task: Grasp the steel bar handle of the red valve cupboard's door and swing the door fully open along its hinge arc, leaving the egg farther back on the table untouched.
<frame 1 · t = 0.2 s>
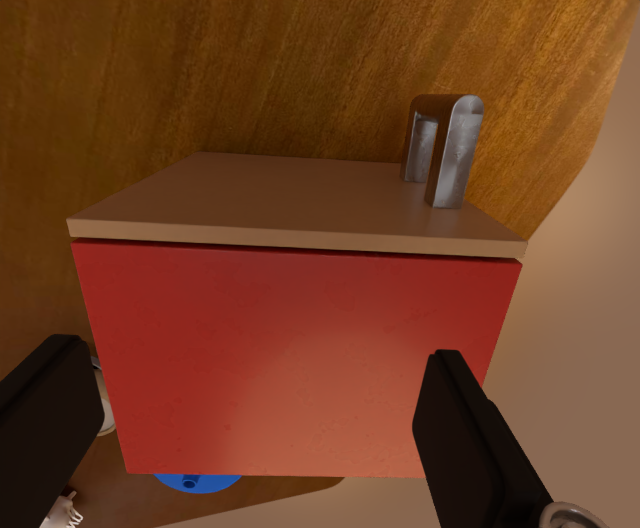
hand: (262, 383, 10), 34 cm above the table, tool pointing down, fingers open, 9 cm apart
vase: (202, 441, 59), on the table
figurine: (65, 493, 64), on the table
alarm clock: (93, 382, 53), on the table
door: (308, 142, 28), point 12 cm above the table, hinge at 0.0°
valve cupboard: (303, 242, 45), on the table
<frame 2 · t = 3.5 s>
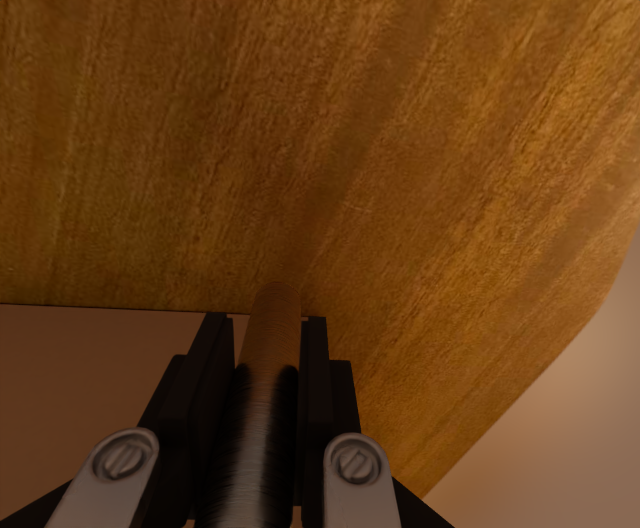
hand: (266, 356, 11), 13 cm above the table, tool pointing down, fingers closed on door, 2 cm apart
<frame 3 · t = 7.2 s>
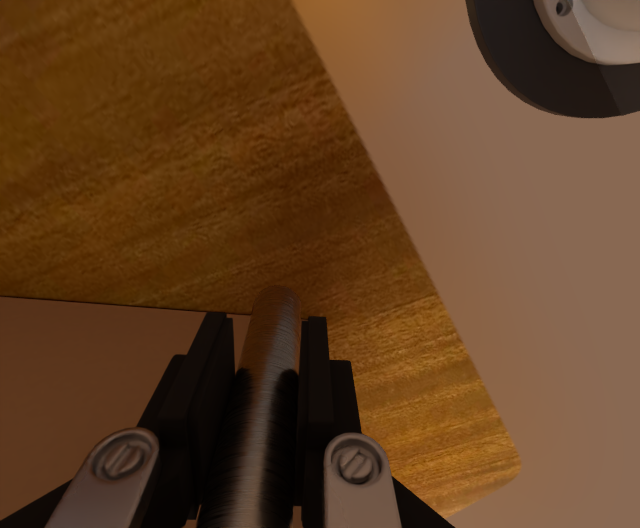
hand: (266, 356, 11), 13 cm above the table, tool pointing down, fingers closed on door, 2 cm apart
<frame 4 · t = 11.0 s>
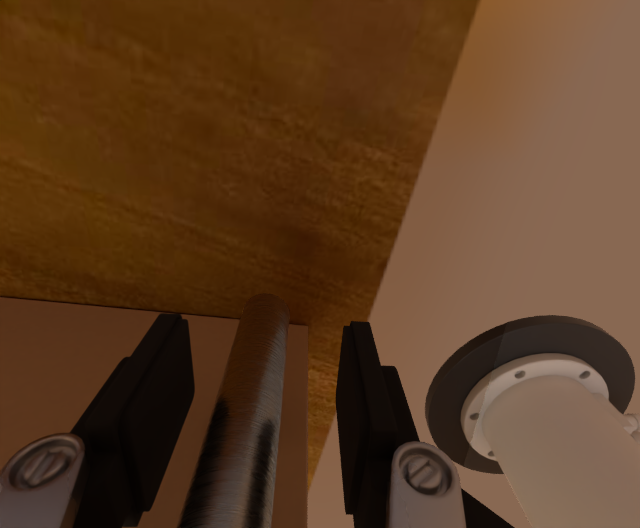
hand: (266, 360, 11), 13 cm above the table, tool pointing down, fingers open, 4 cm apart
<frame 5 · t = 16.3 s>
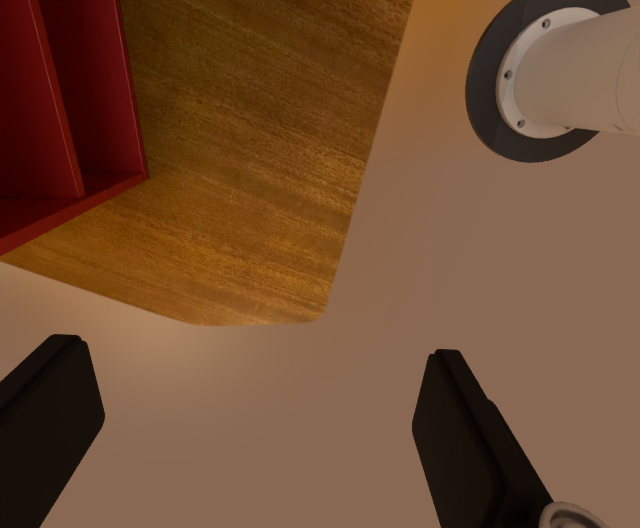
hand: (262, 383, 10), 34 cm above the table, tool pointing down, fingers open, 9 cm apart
valve cupboard: (37, 55, 36), on the table
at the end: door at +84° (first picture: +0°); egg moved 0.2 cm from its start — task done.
